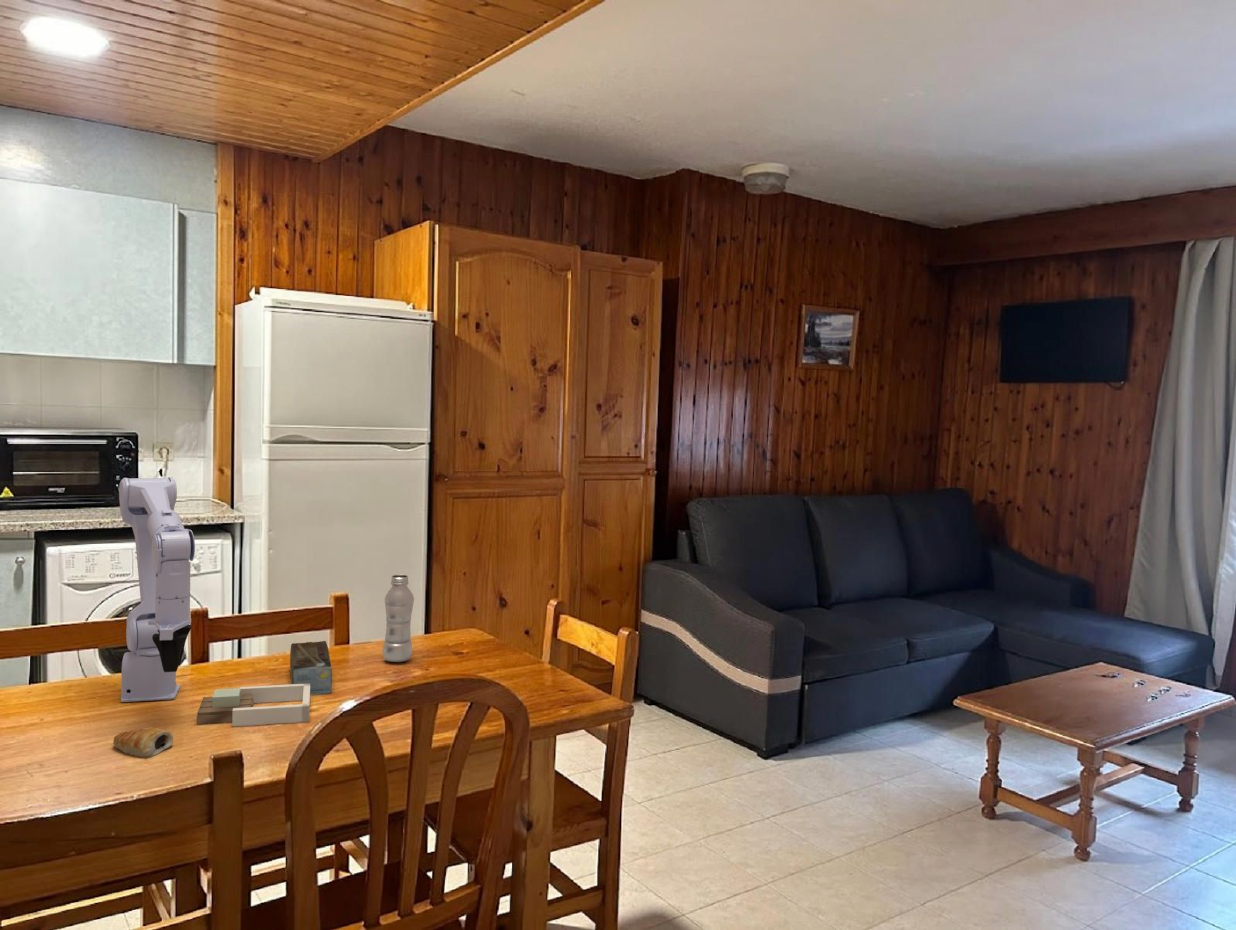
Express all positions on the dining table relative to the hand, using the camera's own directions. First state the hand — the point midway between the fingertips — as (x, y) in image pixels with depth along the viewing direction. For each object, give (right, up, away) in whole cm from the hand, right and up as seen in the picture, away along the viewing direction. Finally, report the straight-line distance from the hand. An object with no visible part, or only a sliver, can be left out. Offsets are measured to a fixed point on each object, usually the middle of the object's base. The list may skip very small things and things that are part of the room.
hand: (172, 668), depth 164 cm
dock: (+16, -10, +6) cm, 20 cm away
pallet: (+8, -10, +4) cm, 14 cm away
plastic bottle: (+31, -8, +42) cm, 53 cm away
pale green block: (+9, -7, +4) cm, 12 cm away
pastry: (+2, -11, -14) cm, 18 cm away
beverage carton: (+17, -9, +25) cm, 32 cm away
